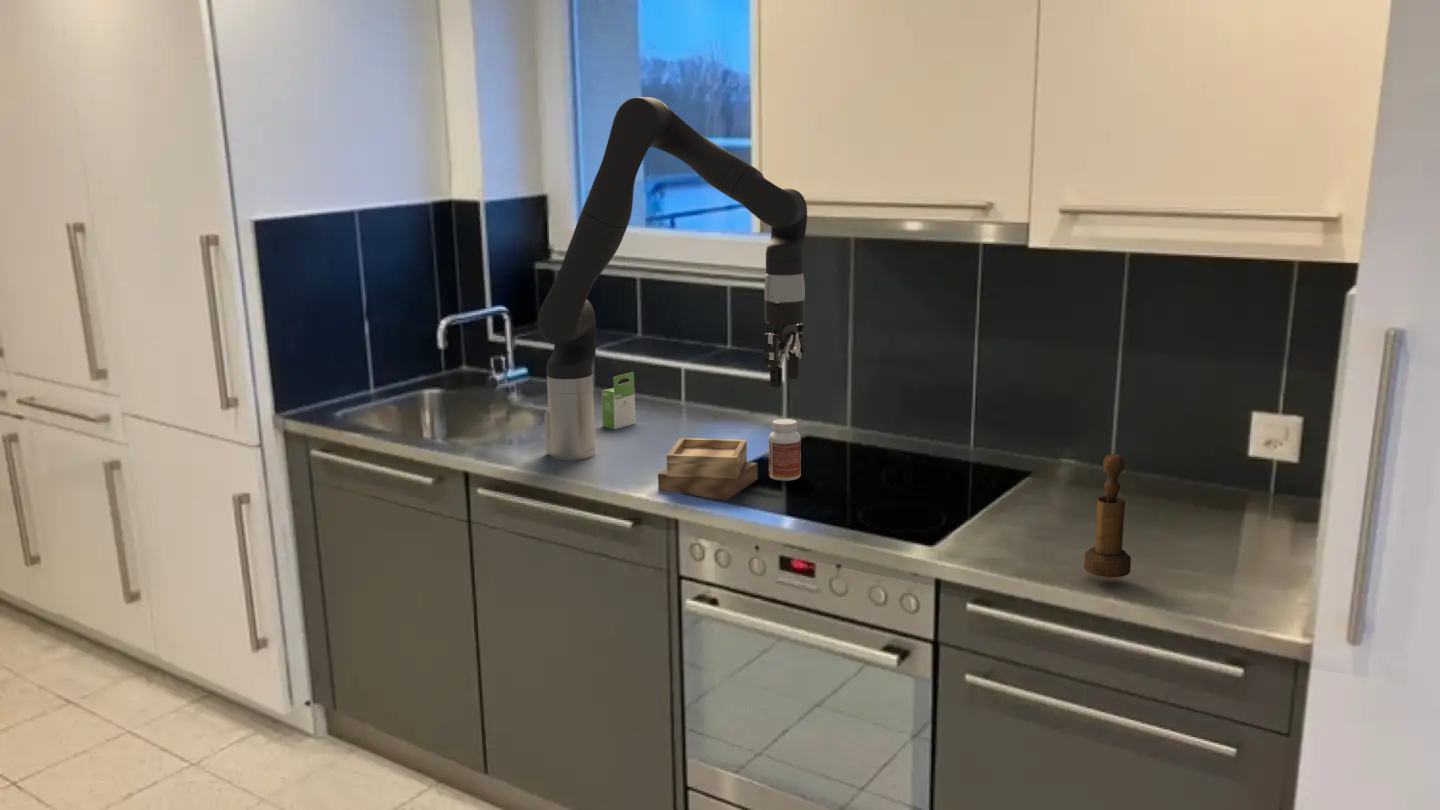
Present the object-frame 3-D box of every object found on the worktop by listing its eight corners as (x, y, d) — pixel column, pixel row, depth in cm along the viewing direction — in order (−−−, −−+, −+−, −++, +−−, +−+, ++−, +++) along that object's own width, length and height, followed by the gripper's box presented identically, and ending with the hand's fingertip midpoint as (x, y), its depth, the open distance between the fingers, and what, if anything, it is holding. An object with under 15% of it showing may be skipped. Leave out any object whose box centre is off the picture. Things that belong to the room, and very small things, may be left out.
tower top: (667, 476, 220) (666, 455, 219) (680, 457, 233) (680, 437, 232) (736, 478, 218) (736, 457, 217) (746, 459, 231) (746, 439, 230)
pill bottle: (807, 478, 230) (807, 422, 228) (781, 483, 227) (781, 426, 224) (788, 471, 235) (788, 416, 233) (762, 476, 232) (762, 420, 229)
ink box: (623, 427, 272) (622, 369, 269) (636, 430, 269) (635, 371, 266) (602, 433, 267) (600, 374, 264) (615, 436, 264) (613, 376, 261)
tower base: (658, 494, 223) (658, 473, 222) (692, 474, 235) (692, 455, 234) (726, 503, 217) (726, 482, 216) (757, 483, 229) (757, 463, 228)
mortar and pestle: (1082, 574, 179) (1089, 458, 175) (1085, 560, 184) (1092, 447, 180) (1129, 579, 176) (1137, 462, 172) (1131, 565, 182) (1138, 451, 178)
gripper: (780, 292, 231) (781, 374, 235) (750, 301, 219) (751, 388, 222) (817, 293, 228) (816, 377, 231) (788, 303, 215) (788, 391, 219)
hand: (784, 382), depth 227 cm, fingers open, 8 cm apart
